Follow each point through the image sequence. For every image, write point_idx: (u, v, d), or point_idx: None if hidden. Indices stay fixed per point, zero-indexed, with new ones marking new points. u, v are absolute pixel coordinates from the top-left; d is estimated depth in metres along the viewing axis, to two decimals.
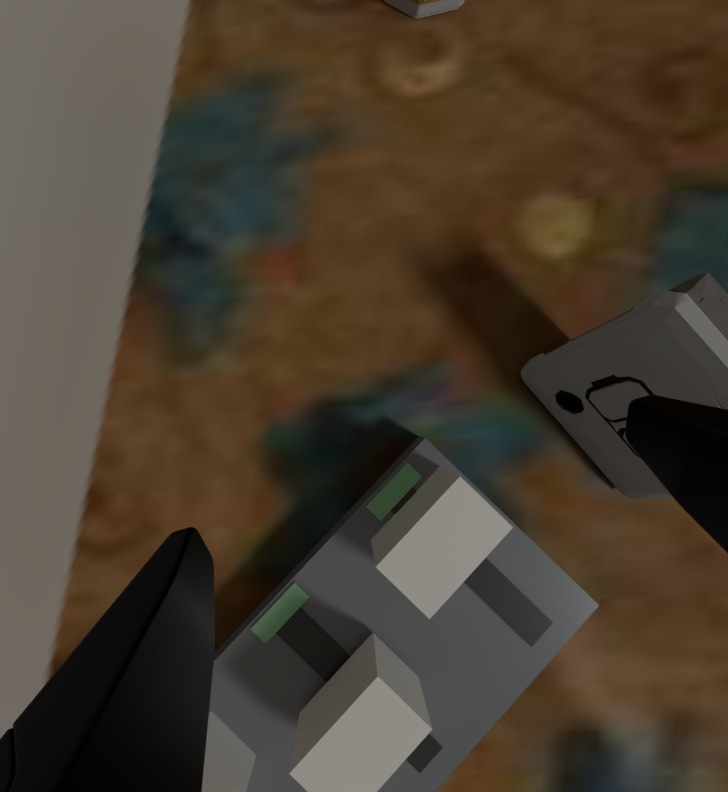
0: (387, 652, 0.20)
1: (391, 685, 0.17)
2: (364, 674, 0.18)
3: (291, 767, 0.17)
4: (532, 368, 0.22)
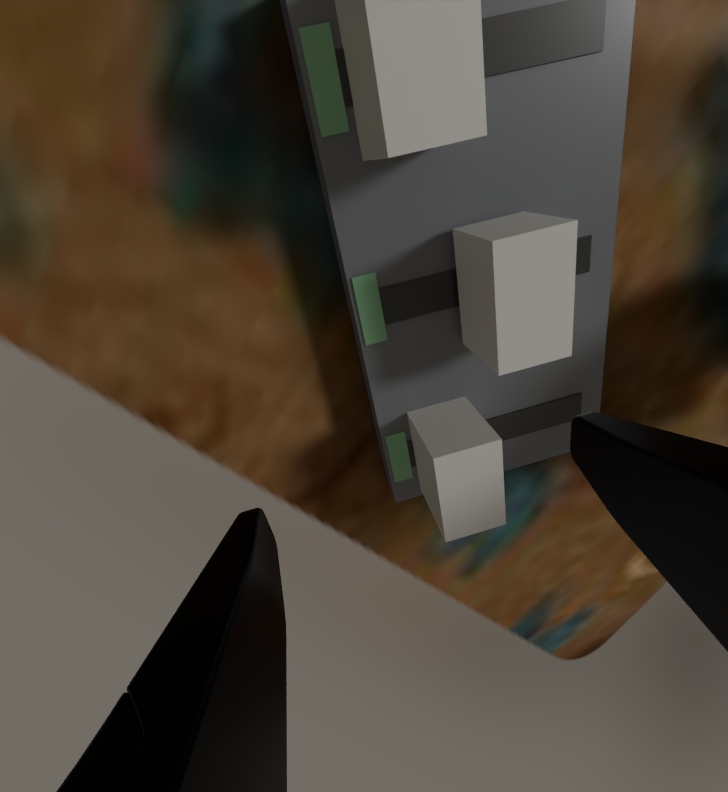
0: (480, 225, 0.17)
1: (510, 234, 0.14)
2: (480, 257, 0.15)
3: (496, 371, 0.17)
4: None
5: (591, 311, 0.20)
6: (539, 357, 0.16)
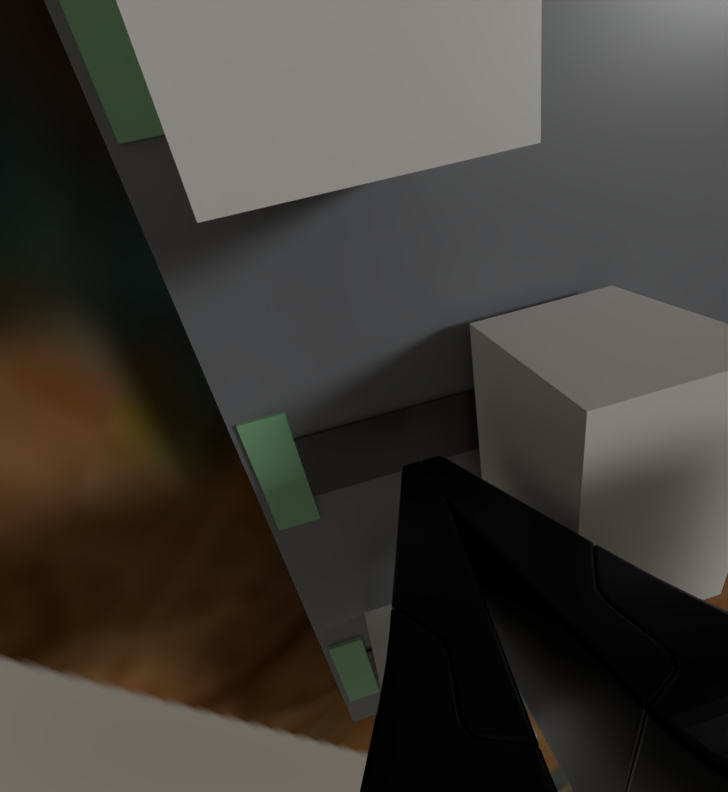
0: (529, 321, 0.08)
1: (626, 382, 0.06)
2: (543, 418, 0.06)
3: None
4: None
5: None
6: None
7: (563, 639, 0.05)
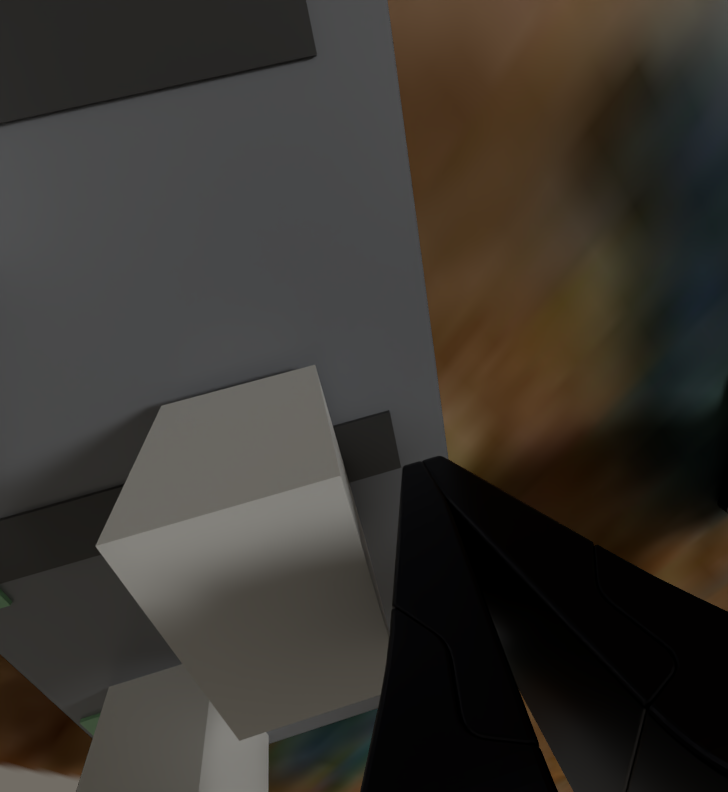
0: (203, 409, 0.08)
1: (169, 507, 0.05)
2: None
3: None
4: None
5: None
6: (327, 701, 0.07)
7: (563, 639, 0.05)
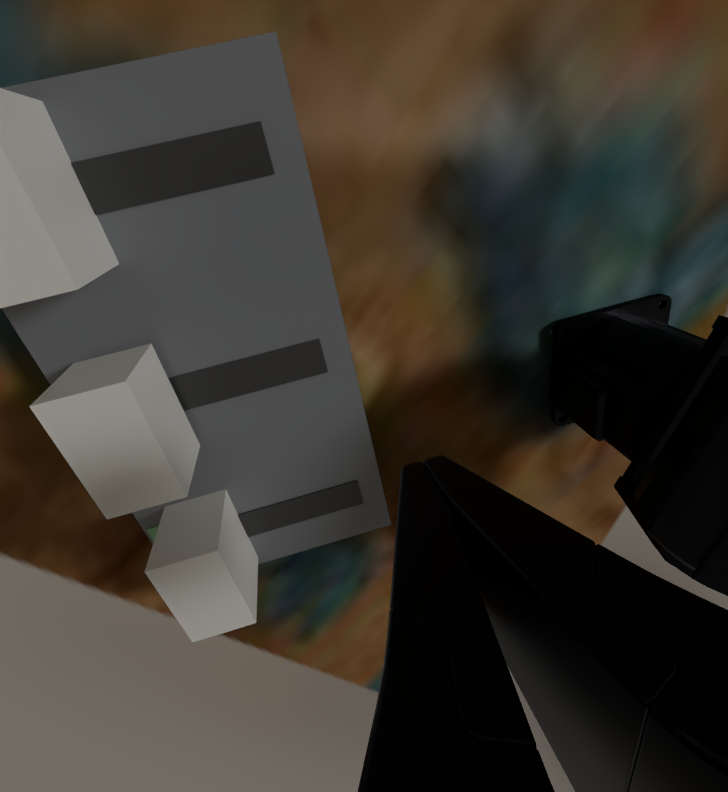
0: (90, 363, 0.16)
1: (59, 394, 0.14)
2: None
3: None
4: None
5: (344, 407, 0.20)
6: (148, 500, 0.16)
7: (565, 638, 0.05)
